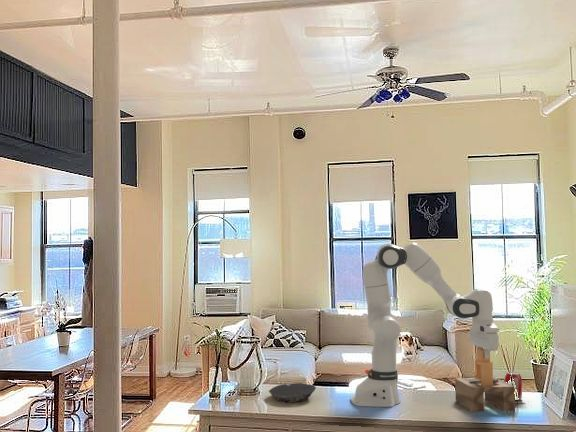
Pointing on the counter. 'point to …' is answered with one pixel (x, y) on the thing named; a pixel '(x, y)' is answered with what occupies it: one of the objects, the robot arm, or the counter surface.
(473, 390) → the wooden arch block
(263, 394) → the counter surface
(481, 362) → the stepped wooden block
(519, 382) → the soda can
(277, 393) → the bowl
